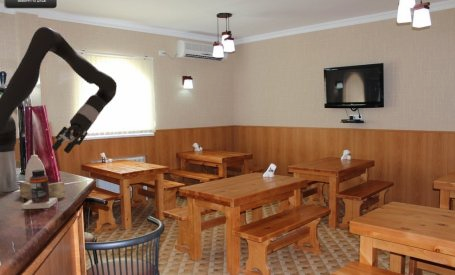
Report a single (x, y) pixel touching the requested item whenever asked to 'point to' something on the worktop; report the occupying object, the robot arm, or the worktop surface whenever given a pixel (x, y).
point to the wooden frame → (54, 190)
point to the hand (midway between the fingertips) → (59, 150)
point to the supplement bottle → (39, 186)
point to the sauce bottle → (33, 166)
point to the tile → (39, 204)
